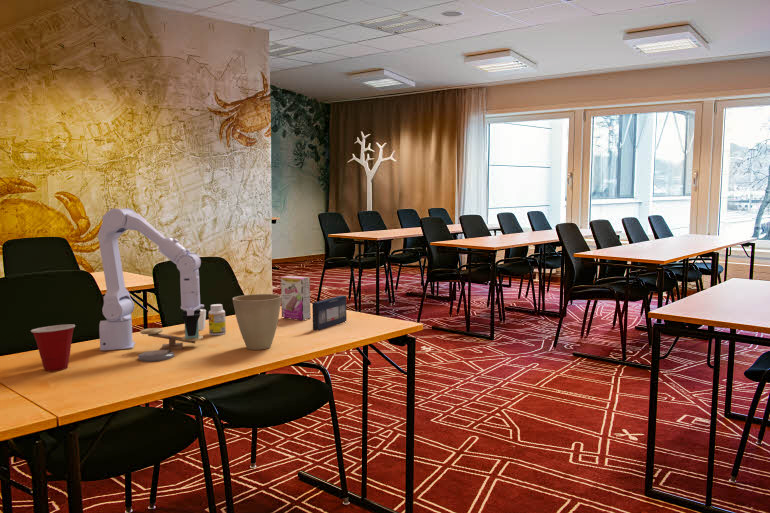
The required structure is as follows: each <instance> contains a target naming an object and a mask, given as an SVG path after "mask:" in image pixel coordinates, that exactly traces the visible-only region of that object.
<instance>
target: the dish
mask: <svg viewBox="0 0 770 513" xmlns="http://www.w3.org/2000/svg"><path fill="white" fill-rule="evenodd" d="M174 357H175V352H174V351H173V350H162V349H158V350H157V349H156V350H150V351H144V352H141V353H139V354H138V357H137V360H138V361H141V362H144V363H147V362H149V363H151V362H152V363H153V362H163V361H166V360H170V359H172V358H174Z"/></svg>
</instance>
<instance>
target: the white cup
mask: <svg viewBox="0 0 770 513" xmlns="http://www.w3.org/2000/svg"><path fill="white" fill-rule="evenodd" d="M199 309H200V317H199V319H198V329H199V330H200V331H204V330H205V329H206V317H207V310H206V309H205V308H199ZM203 329H204V330H203Z"/></svg>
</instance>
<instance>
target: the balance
mask: <svg viewBox="0 0 770 513" xmlns="http://www.w3.org/2000/svg"><path fill="white" fill-rule="evenodd" d="M162 332H163V328H161V327H152V328H150V327H149V328H144V329H141V330H140V332H139V333H140V334H141V335H147V336H148V337H153V338H160V339H166V340H168V343H163V344H162V346H161V350H170V351H173V350H182V349H183V346H184V344H183V342H184V343H190V344H196V341H200V340H201V341H202V340H203V339H204V335H202V334H199V338H189V339H185V335H184V336H175V335H171V334H165V333H162ZM176 341H178V342H176Z"/></svg>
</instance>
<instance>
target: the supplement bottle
mask: <svg viewBox="0 0 770 513" xmlns="http://www.w3.org/2000/svg"><path fill="white" fill-rule="evenodd" d="M208 329H209V330H208V332H209V335H210V336H222V335H225V334H226V332H227V327H226V311H225V310H224V308H223V304H221V303H216V304H215V303H214V304H210V310H209V311H208Z"/></svg>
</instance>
